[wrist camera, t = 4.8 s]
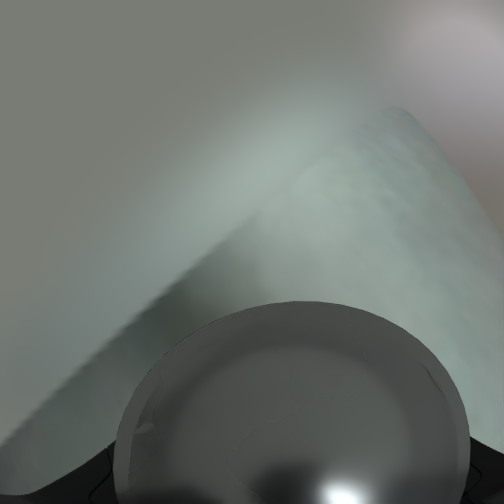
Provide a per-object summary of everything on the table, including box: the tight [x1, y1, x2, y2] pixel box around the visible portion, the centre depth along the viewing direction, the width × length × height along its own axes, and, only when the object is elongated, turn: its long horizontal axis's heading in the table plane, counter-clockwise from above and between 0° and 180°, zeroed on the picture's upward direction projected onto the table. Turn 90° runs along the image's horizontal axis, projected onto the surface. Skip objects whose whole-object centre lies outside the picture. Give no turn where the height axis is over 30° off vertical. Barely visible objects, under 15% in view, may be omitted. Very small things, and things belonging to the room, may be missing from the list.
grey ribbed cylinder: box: [113, 301, 470, 504], centre depth 6 cm, size 5×5×8 cm
